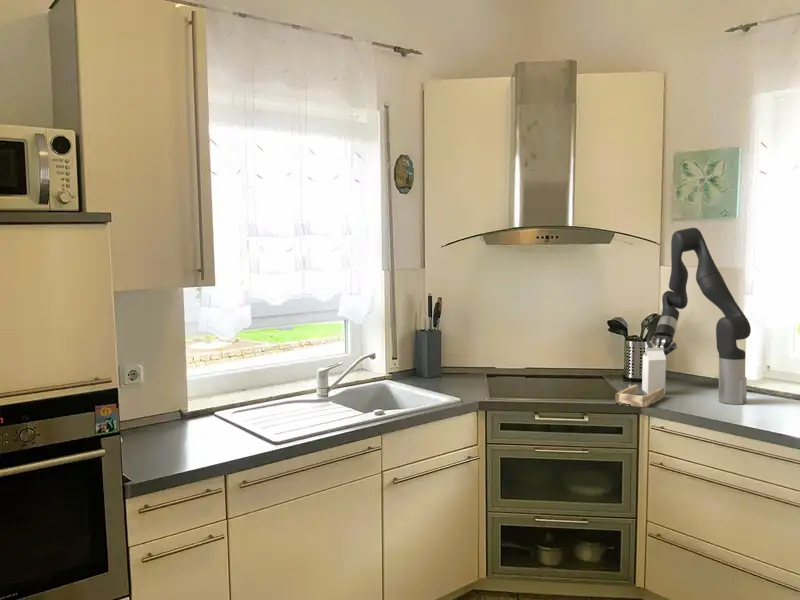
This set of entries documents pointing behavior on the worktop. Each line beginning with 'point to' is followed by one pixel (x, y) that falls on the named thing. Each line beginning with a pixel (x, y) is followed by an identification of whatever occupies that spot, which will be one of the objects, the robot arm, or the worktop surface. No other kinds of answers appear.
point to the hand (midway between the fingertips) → (656, 361)
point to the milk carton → (653, 369)
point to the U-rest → (636, 400)
